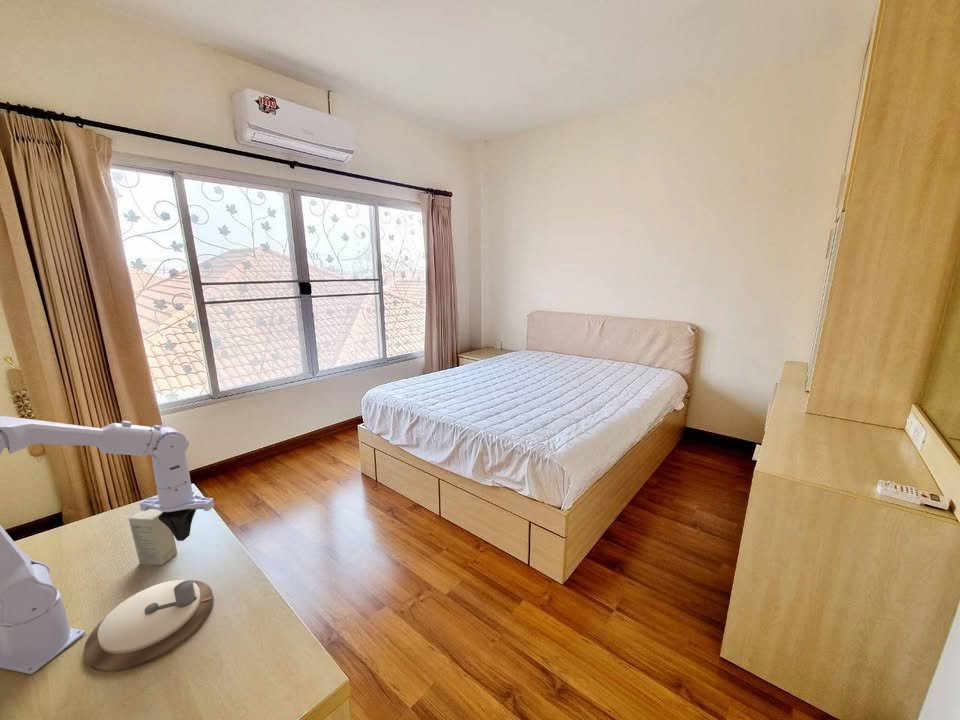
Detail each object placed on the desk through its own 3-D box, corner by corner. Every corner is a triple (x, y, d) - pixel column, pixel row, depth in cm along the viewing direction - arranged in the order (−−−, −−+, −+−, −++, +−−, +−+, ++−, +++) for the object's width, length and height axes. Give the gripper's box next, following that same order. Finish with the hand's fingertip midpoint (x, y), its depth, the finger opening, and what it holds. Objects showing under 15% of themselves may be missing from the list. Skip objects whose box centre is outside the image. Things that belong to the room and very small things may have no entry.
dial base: (54, 662, 67) (53, 655, 66) (160, 579, 85) (159, 574, 85) (146, 681, 64) (145, 674, 63) (235, 591, 82) (234, 585, 82)
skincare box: (178, 553, 93) (170, 508, 91) (162, 566, 89) (153, 519, 86) (154, 551, 94) (145, 506, 91) (137, 564, 90) (127, 517, 87)
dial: (80, 666, 64) (73, 641, 63) (122, 598, 78) (118, 577, 77) (187, 636, 70) (183, 613, 69) (209, 578, 84) (206, 558, 82)
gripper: (219, 472, 86) (227, 526, 89) (155, 472, 86) (165, 526, 89) (197, 489, 79) (206, 547, 82) (126, 489, 79) (138, 547, 82)
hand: (183, 537), depth 85 cm, fingers closed
